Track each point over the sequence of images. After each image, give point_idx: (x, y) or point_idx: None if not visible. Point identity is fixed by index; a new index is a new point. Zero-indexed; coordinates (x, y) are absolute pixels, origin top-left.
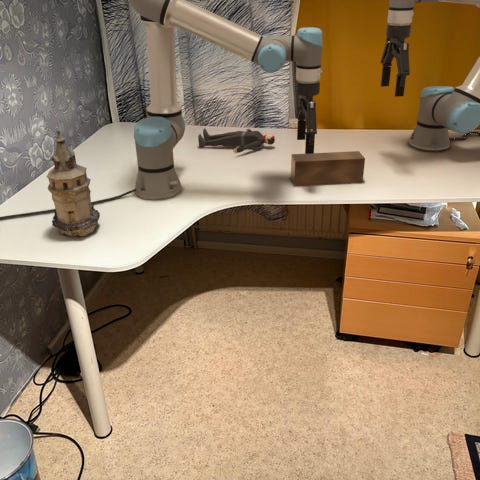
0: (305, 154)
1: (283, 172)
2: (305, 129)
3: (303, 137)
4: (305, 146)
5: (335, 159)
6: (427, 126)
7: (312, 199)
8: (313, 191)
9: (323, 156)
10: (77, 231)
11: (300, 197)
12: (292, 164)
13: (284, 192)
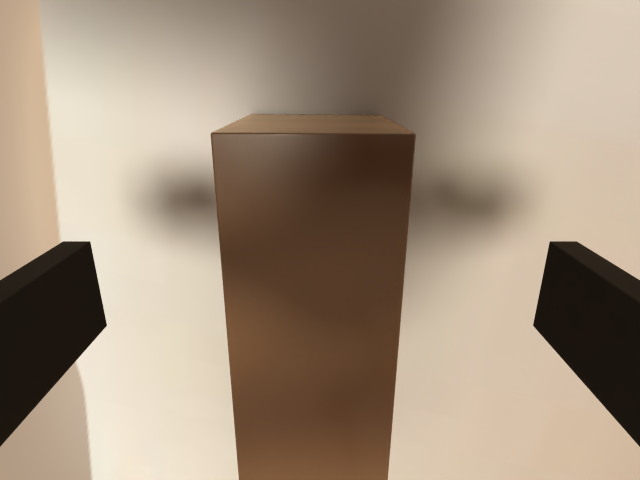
0: (381, 258)
1: (488, 83)
2: (611, 408)
3: (551, 320)
4: (32, 276)
5: (241, 438)
6: None
7: (62, 184)
8: (172, 212)
9: (313, 379)
10: None
11: (85, 121)
12: (340, 125)
13: (157, 30)
